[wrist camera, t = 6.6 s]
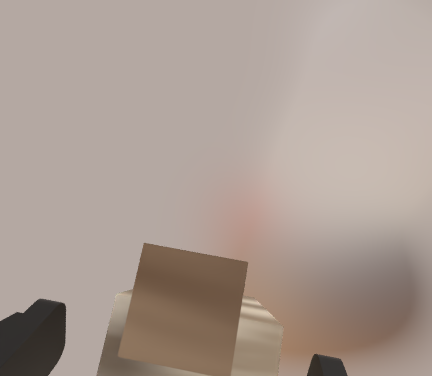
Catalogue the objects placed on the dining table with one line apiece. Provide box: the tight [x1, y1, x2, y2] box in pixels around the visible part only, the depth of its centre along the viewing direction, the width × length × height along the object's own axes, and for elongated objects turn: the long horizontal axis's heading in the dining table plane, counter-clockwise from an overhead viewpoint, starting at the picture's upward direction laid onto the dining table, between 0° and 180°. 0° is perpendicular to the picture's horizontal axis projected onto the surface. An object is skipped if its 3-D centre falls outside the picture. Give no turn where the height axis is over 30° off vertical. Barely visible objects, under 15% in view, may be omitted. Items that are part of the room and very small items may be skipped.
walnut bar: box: [118, 243, 248, 376], centre depth 21 cm, size 26×3×3 cm, turn 179°
